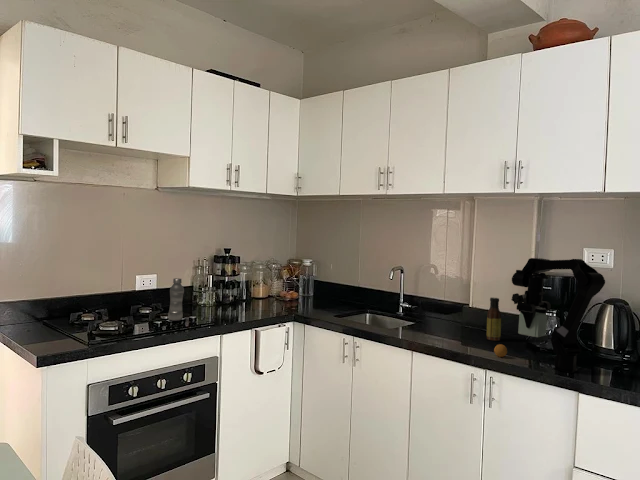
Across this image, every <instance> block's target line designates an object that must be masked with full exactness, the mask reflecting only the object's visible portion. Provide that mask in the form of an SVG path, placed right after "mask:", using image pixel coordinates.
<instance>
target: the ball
mask: <svg viewBox="0 0 640 480" xmlns="http://www.w3.org/2000/svg"><path fill="white" fill-rule="evenodd" d="M493 353H494V354H495V355H496V356H497V357H499V358H503V357H505V356H506V355H507V354H508V348H507V347H506V346H505V345H504V344H502V343H501V344H500V343H498V344H496V346H495V347H494V349H493Z"/></svg>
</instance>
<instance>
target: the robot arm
mask: <svg viewBox="0 0 640 480" xmlns="http://www.w3.org/2000/svg"><path fill="white" fill-rule="evenodd" d="M553 270H570V271H572V275H573V277H574V278H575V279H576V281H577V283H576V290H577V294H576V296H575V298H574V300H573V302H572V304H571V307H570V308H569V311H568V313H567V315H566V317H565V319H564V321H563V324H562V325H560V326H554V328H553V330H552V332H551V334H550V336H551V337H550V342H551V346H552V352H553V354H556V355H554V365H553V366H554V367H553V370H557V371H561V372H565V373H570V374H573V373H575V372H577V371H578V368H577V356H578V355H580V354H581V353H582V348H581V347H580V345H579V344H578V342H577V339H578V333H577V329H578V327H580V326H579V325H580V323H581V321H582V320H583V317H584V315H585V313H586V310H587V309H588V307H589V304H590V303H591V300H592V299H593V297H595V296H596V295H598V293H600V292H601V291H602V290H603V287H605V284H606V280H605V277H604V275H602V273H599V272H598V270H596V269H595V268H594V267H592V266H590V265H589V264H588V263H587V262H586V261H584V260H583V259H581V258H572V259H571V258H570V259H555V260H554V259H553V260H551V259H548V258H540V257H539V258H538V257H535V258H534V257H531V258H528V260H527V262H526V263H525V265H524V266H523V268H522V269H516V270H515V272H514V273H513V274H512V277H511V283H512V285H514V286H517V287H522V288H527V290H525V291H524V293H523V294H519V293H513V294H512V296H511V301H512V302H513V305H516V310H517V311H518V312H519V313H520V312H521V313H522V314H523V316H524V320H525V324H526V327H527V328H530V326H531V323H532V321H533V318H534V316H535V314H536V312H539V313H545V314H548V312H549V310H551V306H552V305H551V302H549V301H544V300H543V295H545V291H544V280H549V277H548V275H546V272H550V271H553Z"/></svg>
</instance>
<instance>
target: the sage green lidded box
mask: <svg viewBox="0 0 640 480" xmlns="http://www.w3.org/2000/svg"><path fill="white" fill-rule="evenodd" d="M547 314H548V313H546V314H545V313H539V312H536V314H535V316H534V318H533V321H532V323H531V326H530V328H527V327H526V324H525V320H524V316H523V314H522V313H521V312H519V316H518V317H519V318H518V331H517V334H519V335H522V336H529V337H533V338H540V337H544V336H546V335H547V325H548V324H547V322H548V320H547V319H548V316H547Z"/></svg>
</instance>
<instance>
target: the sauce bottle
mask: <svg viewBox="0 0 640 480" xmlns="http://www.w3.org/2000/svg"><path fill="white" fill-rule="evenodd" d="M489 302H490V306H489V309H488V310H487V317H486V339H487V340H488V341H491V342H499V341H501V335H502V334H501V333H502V332H501V331H502V330H501V329H502V316H501V314H502V313H501V311H500V309H499V307H500V306H499V303H500V298H499V297H490V298H489Z"/></svg>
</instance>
